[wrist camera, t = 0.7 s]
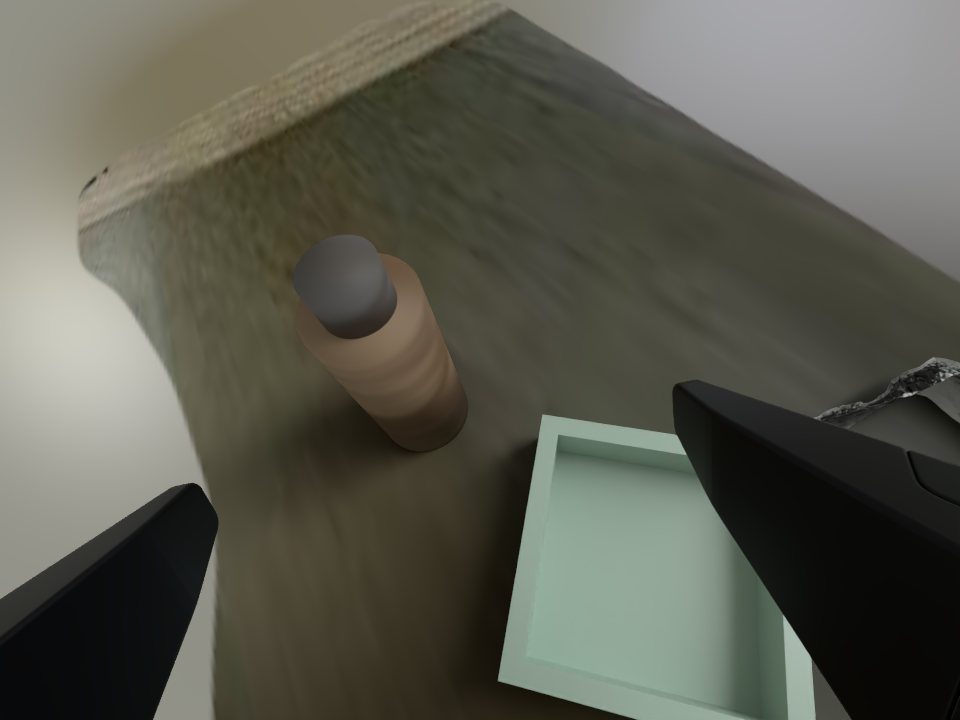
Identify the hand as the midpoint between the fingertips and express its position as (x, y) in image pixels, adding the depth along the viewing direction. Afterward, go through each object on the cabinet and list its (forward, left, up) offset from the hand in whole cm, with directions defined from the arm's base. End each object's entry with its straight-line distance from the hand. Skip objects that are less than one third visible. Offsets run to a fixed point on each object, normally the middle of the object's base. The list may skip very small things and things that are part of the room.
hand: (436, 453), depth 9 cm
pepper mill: (+6, +6, -15) cm, 17 cm away
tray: (0, -6, -15) cm, 16 cm away
